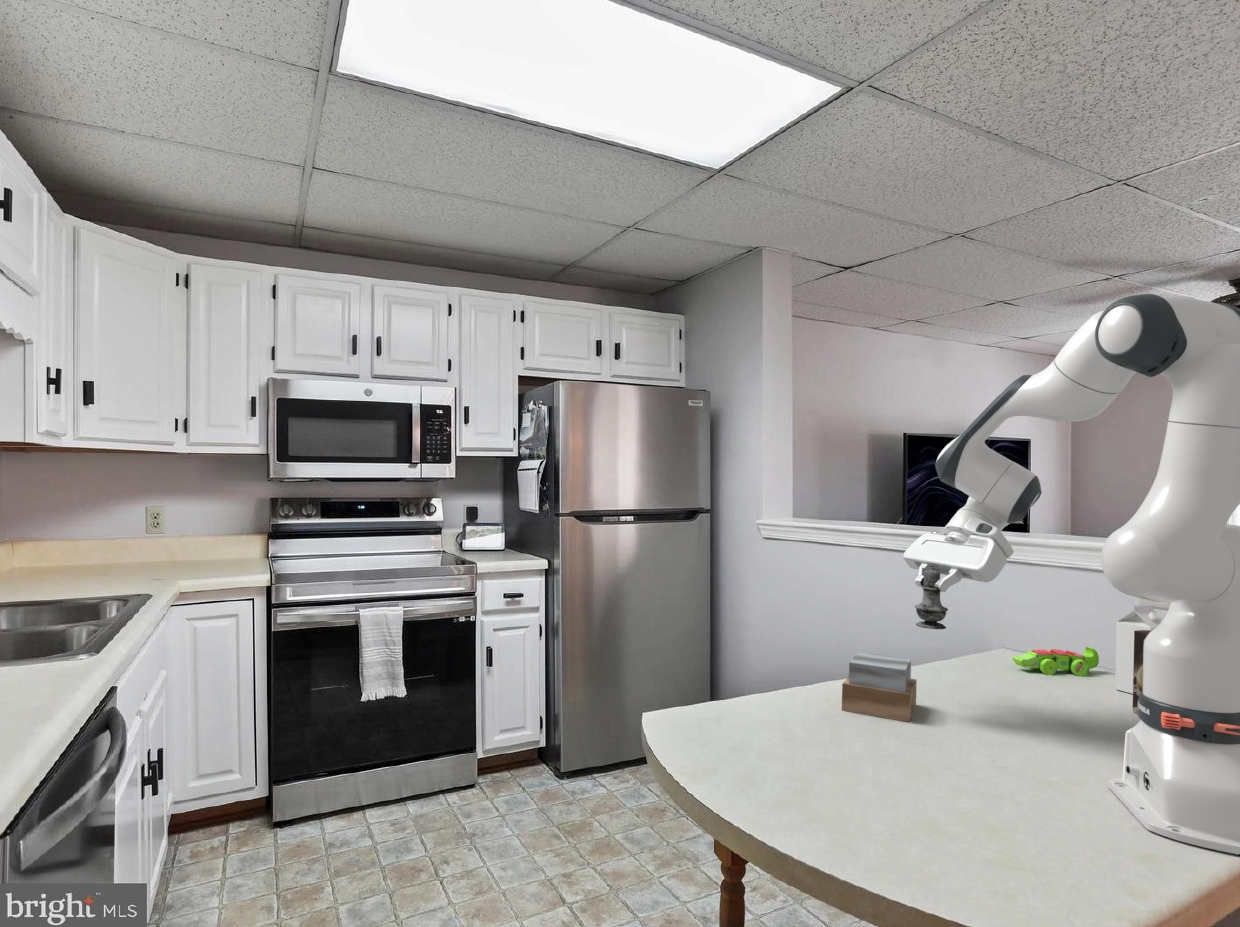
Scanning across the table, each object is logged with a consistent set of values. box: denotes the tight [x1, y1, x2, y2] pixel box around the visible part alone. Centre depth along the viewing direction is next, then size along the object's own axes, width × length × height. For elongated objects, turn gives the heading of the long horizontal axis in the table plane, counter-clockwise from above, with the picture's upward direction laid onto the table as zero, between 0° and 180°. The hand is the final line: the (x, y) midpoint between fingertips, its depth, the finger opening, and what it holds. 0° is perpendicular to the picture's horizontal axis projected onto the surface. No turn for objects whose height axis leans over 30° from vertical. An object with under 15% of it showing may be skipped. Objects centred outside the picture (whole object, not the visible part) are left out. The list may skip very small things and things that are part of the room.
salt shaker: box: [914, 564, 949, 630], centre depth 137 cm, size 6×6×12 cm
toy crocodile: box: [1012, 646, 1100, 677], centre depth 172 cm, size 20×7×6 cm, turn 89°
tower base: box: [841, 651, 918, 723], centre depth 139 cm, size 12×12×9 cm
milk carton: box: [1114, 604, 1164, 695], centre depth 156 cm, size 7×7×19 cm
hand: (928, 587), depth 137 cm, fingers closed on salt shaker, 4 cm apart
